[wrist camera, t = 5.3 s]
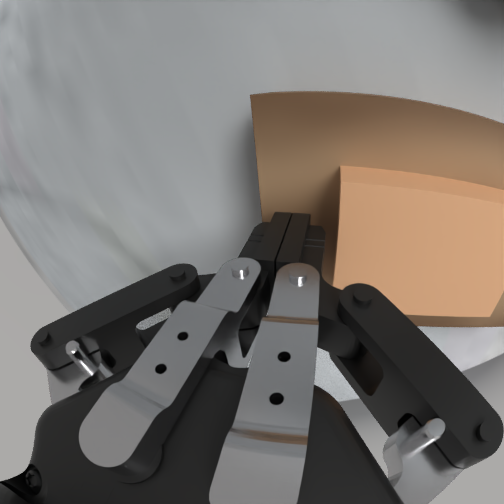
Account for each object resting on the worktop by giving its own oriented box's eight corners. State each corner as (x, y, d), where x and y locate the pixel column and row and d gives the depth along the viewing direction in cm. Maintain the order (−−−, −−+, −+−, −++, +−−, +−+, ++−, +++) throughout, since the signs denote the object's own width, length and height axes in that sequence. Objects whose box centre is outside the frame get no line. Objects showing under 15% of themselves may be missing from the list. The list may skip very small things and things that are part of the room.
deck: (271, 92, 13) (249, 95, 10) (557, 148, 7) (591, 169, 4) (282, 272, 19) (269, 313, 16) (514, 289, 14) (531, 325, 11)
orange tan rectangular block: (340, 165, 10) (340, 182, 9) (513, 192, 8) (534, 212, 6) (332, 280, 14) (330, 308, 12) (479, 291, 11) (489, 316, 9)
